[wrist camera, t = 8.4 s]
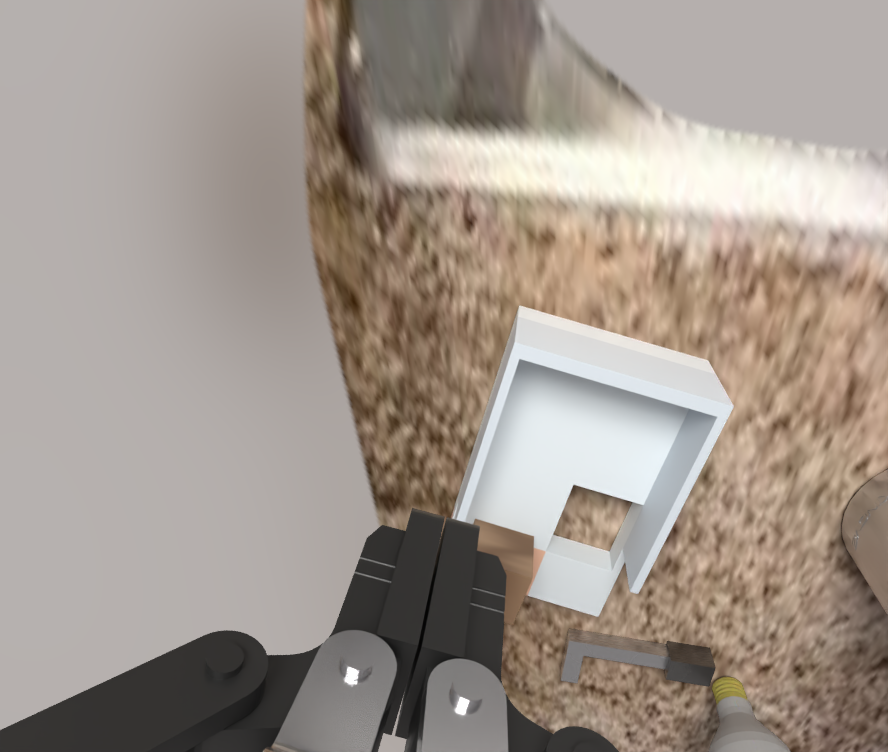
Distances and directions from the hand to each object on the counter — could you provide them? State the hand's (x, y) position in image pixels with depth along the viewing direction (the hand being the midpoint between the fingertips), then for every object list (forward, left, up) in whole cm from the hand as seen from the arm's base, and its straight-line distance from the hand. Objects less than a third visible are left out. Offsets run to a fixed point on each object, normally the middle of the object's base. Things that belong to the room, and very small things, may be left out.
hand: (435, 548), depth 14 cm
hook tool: (-18, +26, -27) cm, 41 cm away
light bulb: (-24, +26, -27) cm, 44 cm away
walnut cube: (-5, +19, -25) cm, 31 cm away
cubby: (-7, +13, -27) cm, 30 cm away
